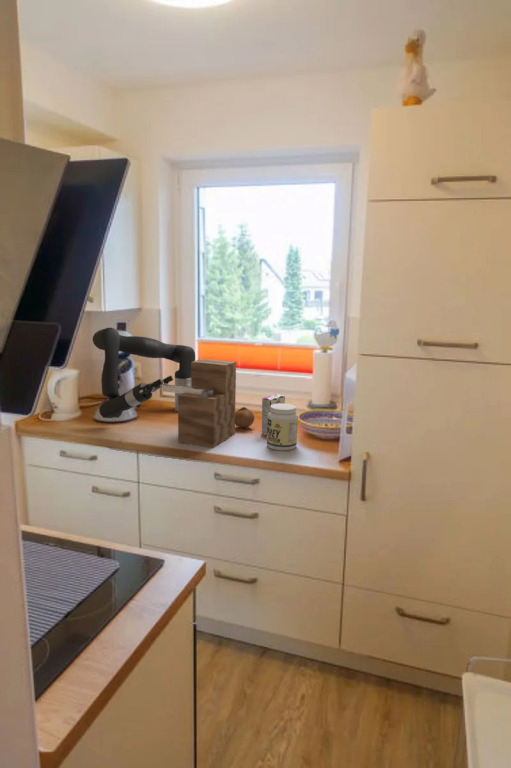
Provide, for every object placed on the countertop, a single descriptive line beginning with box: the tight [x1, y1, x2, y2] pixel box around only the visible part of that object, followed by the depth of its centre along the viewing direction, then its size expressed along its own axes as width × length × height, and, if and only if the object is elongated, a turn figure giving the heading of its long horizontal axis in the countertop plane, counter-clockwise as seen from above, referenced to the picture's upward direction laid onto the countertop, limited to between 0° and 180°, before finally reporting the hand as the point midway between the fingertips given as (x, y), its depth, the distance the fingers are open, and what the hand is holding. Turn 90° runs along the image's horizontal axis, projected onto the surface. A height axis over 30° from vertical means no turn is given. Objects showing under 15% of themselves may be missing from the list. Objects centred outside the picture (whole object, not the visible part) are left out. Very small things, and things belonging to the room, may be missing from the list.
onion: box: [235, 406, 255, 429], centre depth 229 cm, size 10×9×10 cm
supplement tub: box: [266, 403, 299, 452], centre depth 205 cm, size 12×12×17 cm
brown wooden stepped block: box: [177, 358, 237, 449], centre depth 211 cm, size 21×16×32 cm
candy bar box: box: [261, 393, 286, 436], centre depth 224 cm, size 11×5×16 cm, turn 143°
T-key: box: [162, 383, 216, 398], centre depth 207 cm, size 8×22×2 cm, turn 68°
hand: (166, 379), depth 210 cm, fingers open, 8 cm apart
